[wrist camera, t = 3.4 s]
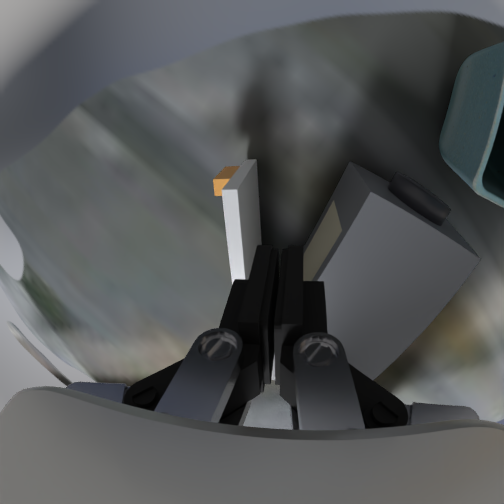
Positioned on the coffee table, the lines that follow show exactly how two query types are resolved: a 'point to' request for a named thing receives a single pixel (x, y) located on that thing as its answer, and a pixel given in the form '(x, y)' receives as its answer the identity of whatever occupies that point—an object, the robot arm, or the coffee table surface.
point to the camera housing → (384, 265)
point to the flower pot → (477, 124)
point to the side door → (240, 214)
